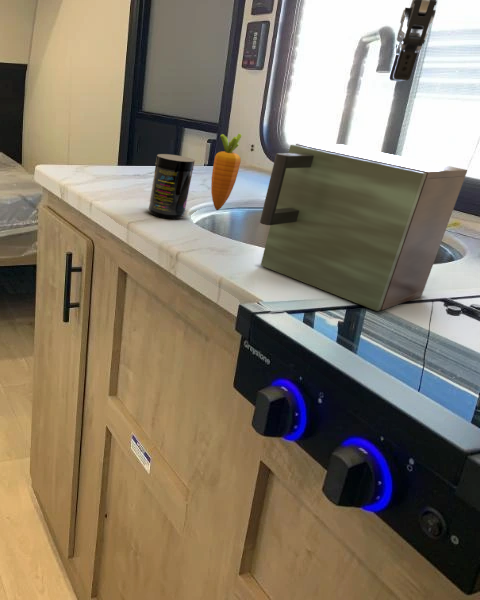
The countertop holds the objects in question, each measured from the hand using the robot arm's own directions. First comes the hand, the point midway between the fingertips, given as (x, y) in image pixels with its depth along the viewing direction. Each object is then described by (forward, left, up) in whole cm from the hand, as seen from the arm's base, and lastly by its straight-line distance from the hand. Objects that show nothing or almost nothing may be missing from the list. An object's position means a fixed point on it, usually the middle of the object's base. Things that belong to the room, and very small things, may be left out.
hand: (398, 80), depth 89 cm
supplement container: (+28, +15, -28) cm, 42 cm away
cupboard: (-7, +15, -27) cm, 32 cm away
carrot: (+28, 0, -28) cm, 39 cm away
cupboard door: (-7, +25, -27) cm, 38 cm away
